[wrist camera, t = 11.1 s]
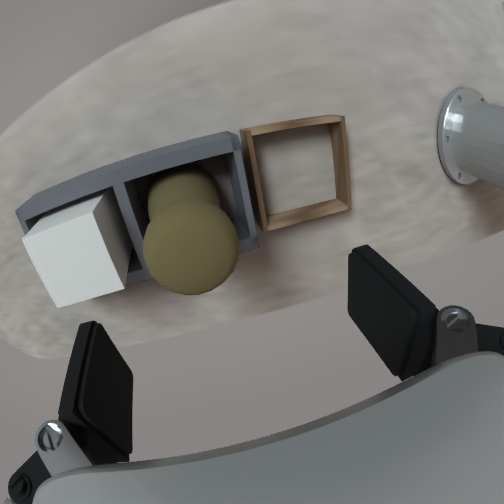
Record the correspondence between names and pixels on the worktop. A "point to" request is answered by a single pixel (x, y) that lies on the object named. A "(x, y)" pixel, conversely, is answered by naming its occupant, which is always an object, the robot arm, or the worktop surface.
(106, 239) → the white block
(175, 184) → the cork
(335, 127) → the wooden square frame
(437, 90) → the worktop surface
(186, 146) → the grey divided tray
